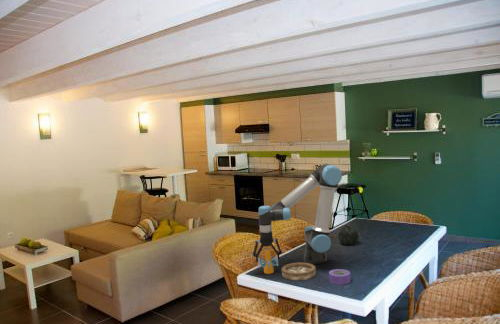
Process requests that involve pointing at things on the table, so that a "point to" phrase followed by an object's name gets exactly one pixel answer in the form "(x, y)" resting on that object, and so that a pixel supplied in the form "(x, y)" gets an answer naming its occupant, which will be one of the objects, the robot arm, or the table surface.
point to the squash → (348, 235)
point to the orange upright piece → (268, 261)
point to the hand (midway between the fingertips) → (268, 266)
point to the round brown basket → (298, 271)
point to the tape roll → (339, 276)
